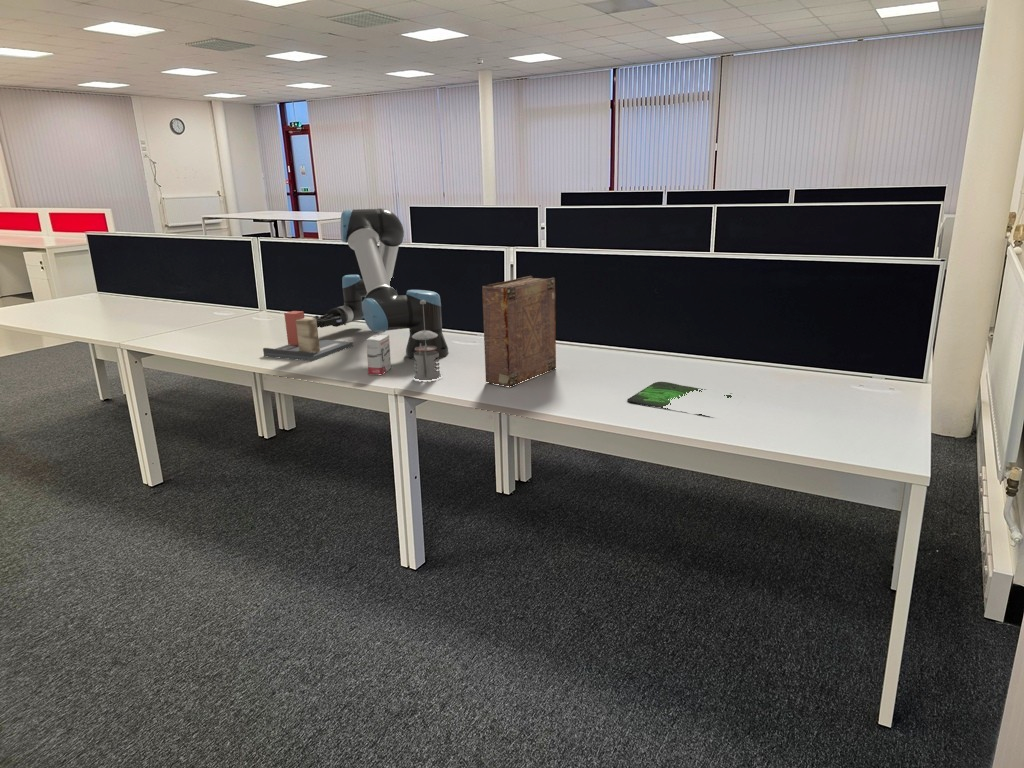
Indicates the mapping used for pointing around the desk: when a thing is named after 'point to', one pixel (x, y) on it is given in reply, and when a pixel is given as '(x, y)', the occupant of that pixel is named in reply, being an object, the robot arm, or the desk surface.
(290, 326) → the red slider
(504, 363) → the book
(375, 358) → the ink box
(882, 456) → the desk surface
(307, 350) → the birch slider
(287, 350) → the track board
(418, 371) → the french press
